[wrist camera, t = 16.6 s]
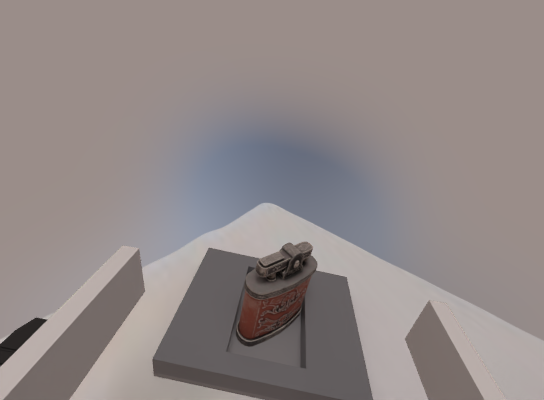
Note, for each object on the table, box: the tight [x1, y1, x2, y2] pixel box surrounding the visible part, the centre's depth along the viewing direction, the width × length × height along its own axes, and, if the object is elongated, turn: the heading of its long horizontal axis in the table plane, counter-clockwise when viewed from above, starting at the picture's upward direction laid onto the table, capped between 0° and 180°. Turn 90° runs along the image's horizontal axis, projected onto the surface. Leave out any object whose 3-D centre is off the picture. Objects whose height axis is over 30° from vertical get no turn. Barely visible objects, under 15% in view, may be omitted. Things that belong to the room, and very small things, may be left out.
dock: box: [153, 248, 373, 400], centre depth 27 cm, size 18×14×2 cm
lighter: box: [236, 242, 317, 347], centre depth 25 cm, size 8×3×10 cm, turn 128°
